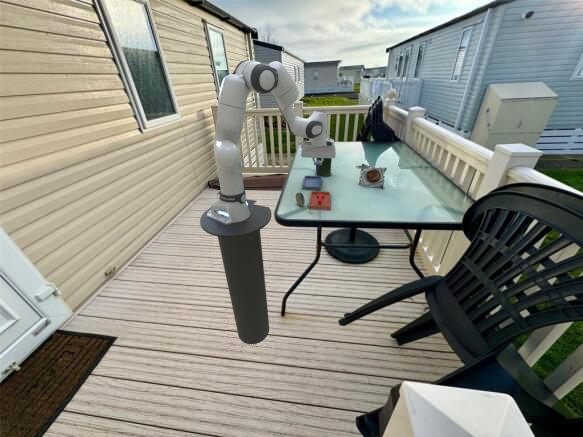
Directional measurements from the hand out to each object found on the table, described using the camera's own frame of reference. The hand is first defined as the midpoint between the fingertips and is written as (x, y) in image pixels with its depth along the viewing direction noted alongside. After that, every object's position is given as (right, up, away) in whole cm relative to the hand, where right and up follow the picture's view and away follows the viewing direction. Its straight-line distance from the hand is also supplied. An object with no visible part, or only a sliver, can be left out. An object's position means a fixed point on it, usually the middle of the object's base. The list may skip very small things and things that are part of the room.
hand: (317, 164), depth 146 cm
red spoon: (0, -23, -9) cm, 24 cm away
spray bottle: (+7, -1, +28) cm, 29 cm away
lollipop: (-9, -24, -15) cm, 30 cm away
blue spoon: (0, -1, +2) cm, 2 cm away
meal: (+35, -12, +9) cm, 38 cm away
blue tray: (-2, -10, +13) cm, 17 cm away
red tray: (0, -23, -8) cm, 24 cm away
